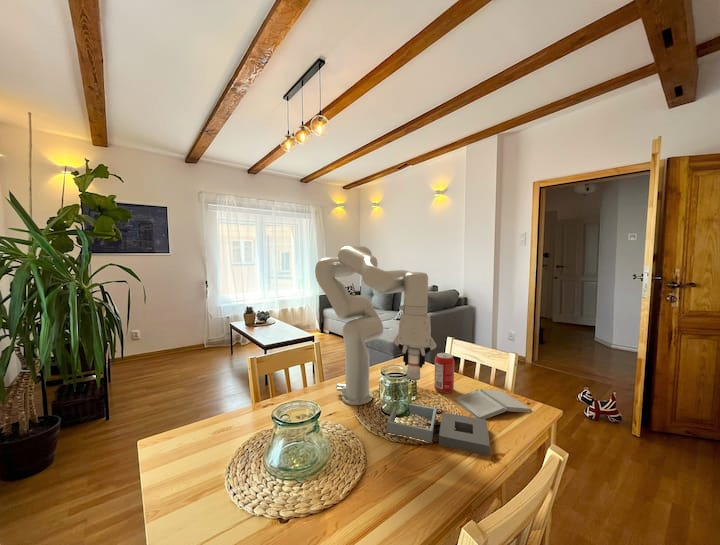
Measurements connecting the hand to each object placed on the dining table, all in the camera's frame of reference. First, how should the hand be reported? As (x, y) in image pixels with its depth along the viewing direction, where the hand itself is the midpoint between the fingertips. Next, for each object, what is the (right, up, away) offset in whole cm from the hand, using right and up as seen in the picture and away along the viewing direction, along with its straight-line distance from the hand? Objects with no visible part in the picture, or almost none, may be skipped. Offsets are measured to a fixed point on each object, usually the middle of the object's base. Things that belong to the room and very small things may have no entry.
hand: (413, 364), depth 97 cm
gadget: (+32, -21, +15) cm, 42 cm away
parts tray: (0, -21, +1) cm, 21 cm away
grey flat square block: (+15, -21, -4) cm, 26 cm away
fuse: (0, -4, 0) cm, 4 cm away
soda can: (+18, -20, +28) cm, 38 cm away
